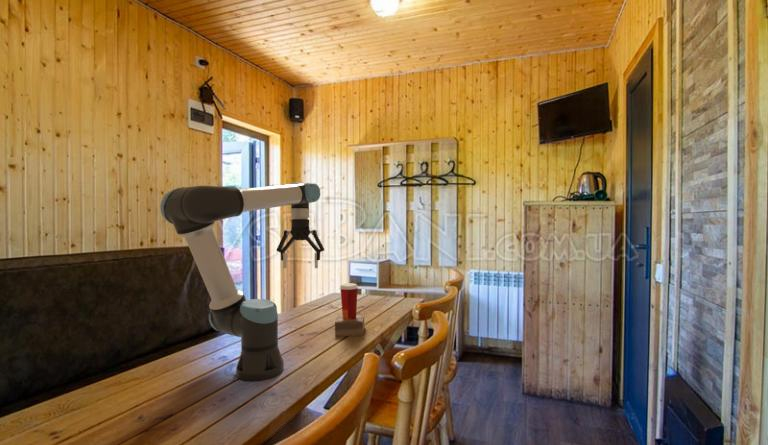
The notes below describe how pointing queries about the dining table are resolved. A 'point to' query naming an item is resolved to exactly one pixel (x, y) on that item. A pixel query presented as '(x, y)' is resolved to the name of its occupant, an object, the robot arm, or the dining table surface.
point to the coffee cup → (349, 300)
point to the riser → (349, 326)
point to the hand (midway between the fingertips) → (300, 268)
